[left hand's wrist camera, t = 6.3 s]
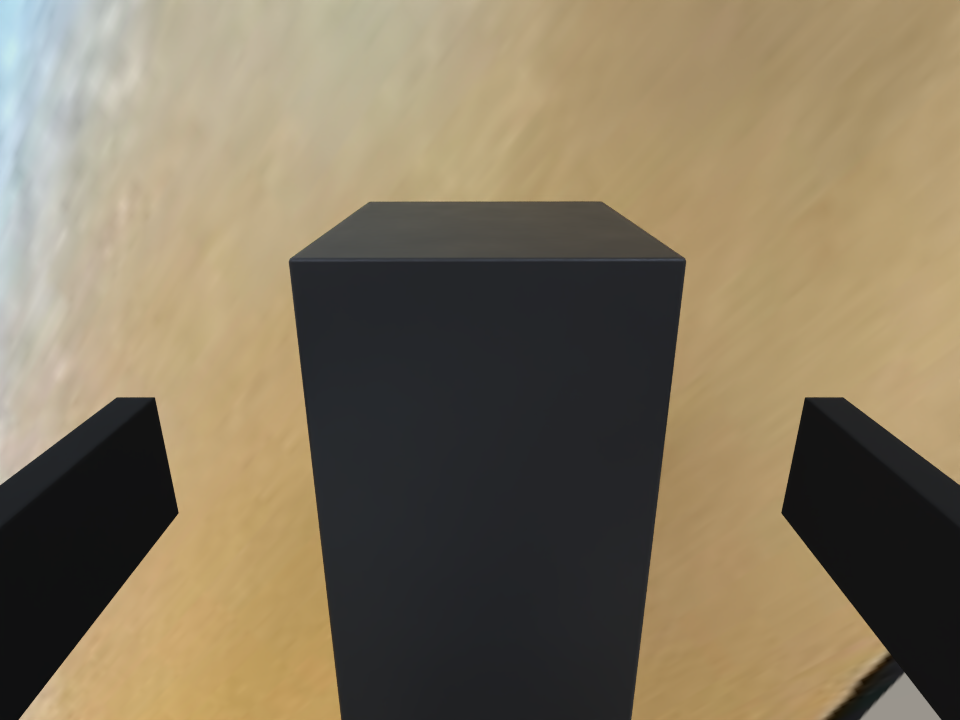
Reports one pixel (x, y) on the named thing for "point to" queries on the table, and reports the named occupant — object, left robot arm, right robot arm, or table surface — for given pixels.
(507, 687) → the box
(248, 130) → the table surface
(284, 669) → the table surface
